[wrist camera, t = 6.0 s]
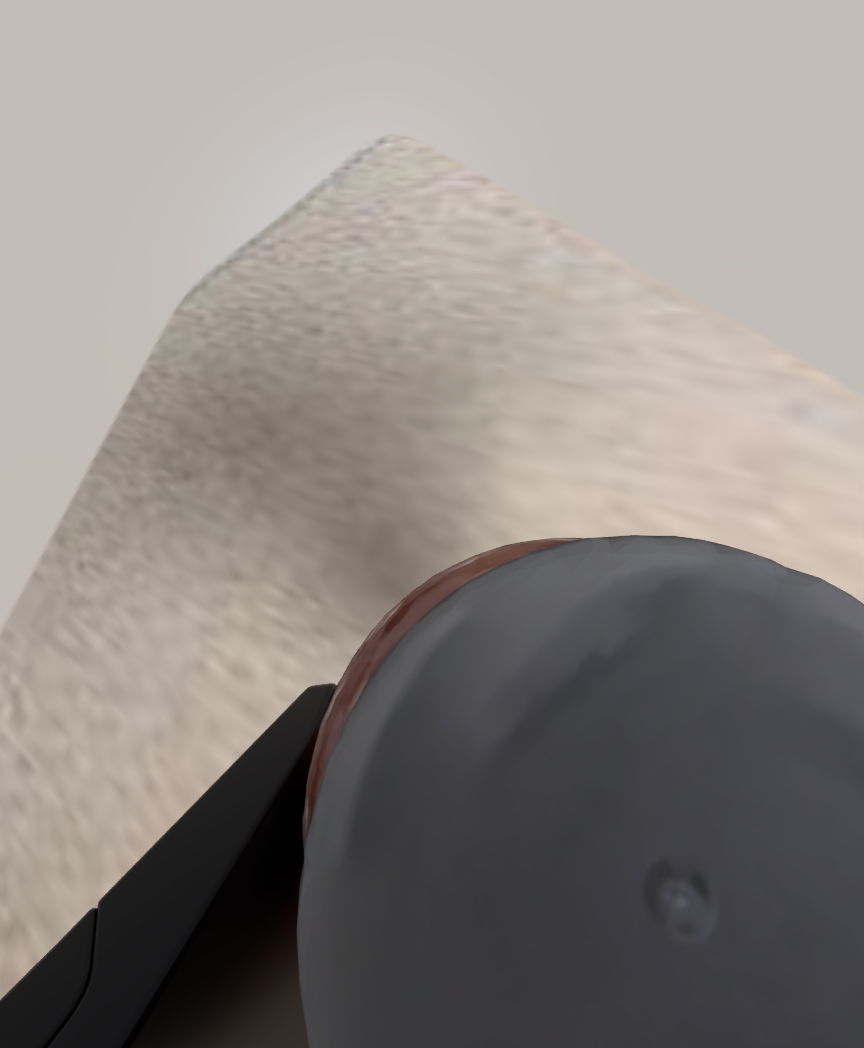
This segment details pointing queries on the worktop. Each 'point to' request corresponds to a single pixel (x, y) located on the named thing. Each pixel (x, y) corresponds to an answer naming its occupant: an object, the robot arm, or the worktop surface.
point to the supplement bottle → (592, 808)
